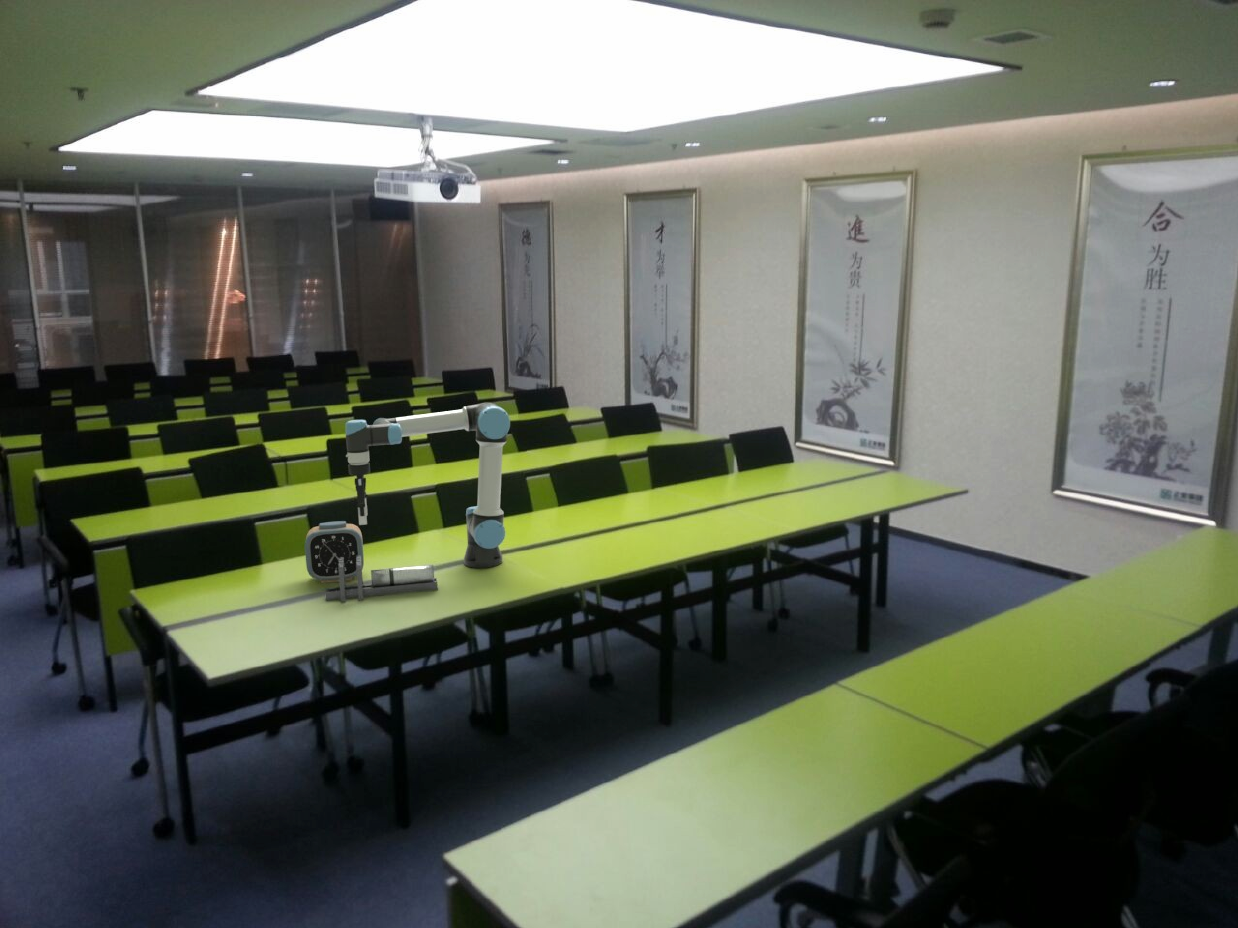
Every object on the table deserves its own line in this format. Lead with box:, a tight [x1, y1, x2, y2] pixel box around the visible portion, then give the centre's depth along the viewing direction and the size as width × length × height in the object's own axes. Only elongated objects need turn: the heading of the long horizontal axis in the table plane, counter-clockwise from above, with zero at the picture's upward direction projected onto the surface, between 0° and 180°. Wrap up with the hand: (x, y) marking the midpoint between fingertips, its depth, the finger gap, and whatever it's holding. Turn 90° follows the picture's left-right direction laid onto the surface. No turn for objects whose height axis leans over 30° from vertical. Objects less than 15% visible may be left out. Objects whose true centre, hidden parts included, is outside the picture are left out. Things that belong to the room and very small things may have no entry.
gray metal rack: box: [324, 555, 439, 604], centre depth 336 cm, size 39×12×13 cm, turn 105°
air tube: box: [370, 564, 435, 587], centre depth 338 cm, size 22×6×6 cm, turn 105°
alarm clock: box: [304, 520, 365, 584], centre depth 353 cm, size 21×10×22 cm, turn 105°
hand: (363, 519), depth 341 cm, fingers open, 13 cm apart
